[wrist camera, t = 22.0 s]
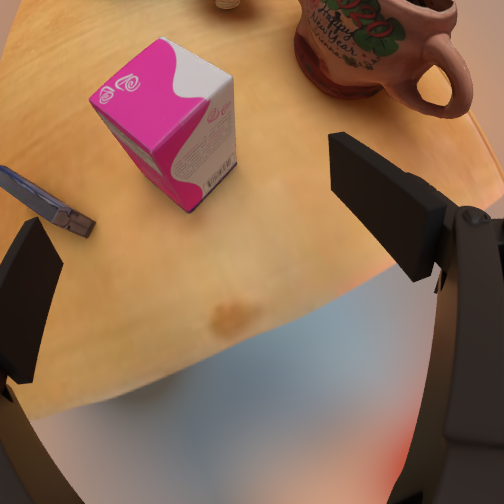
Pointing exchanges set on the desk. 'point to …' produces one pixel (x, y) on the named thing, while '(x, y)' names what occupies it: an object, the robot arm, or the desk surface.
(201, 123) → the supplement box
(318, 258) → the desk surface
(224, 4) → the red rounded lump
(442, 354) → the robot arm
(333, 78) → the decorative planter
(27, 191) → the mini dv tape
